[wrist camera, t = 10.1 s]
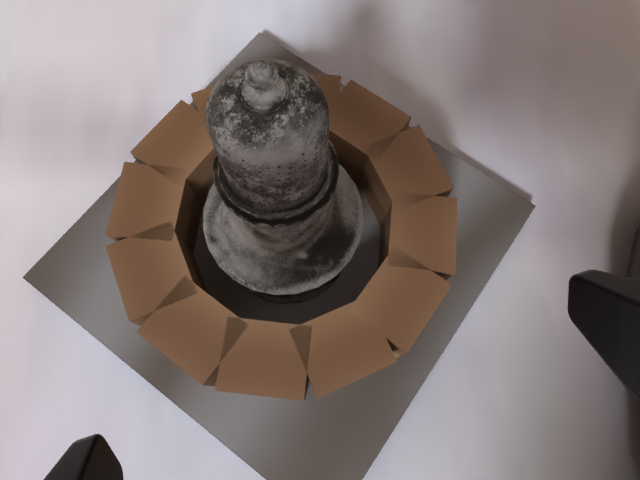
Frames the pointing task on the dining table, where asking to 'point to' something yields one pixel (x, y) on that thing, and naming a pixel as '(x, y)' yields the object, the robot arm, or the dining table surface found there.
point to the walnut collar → (294, 318)
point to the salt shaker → (277, 184)
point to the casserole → (635, 258)
